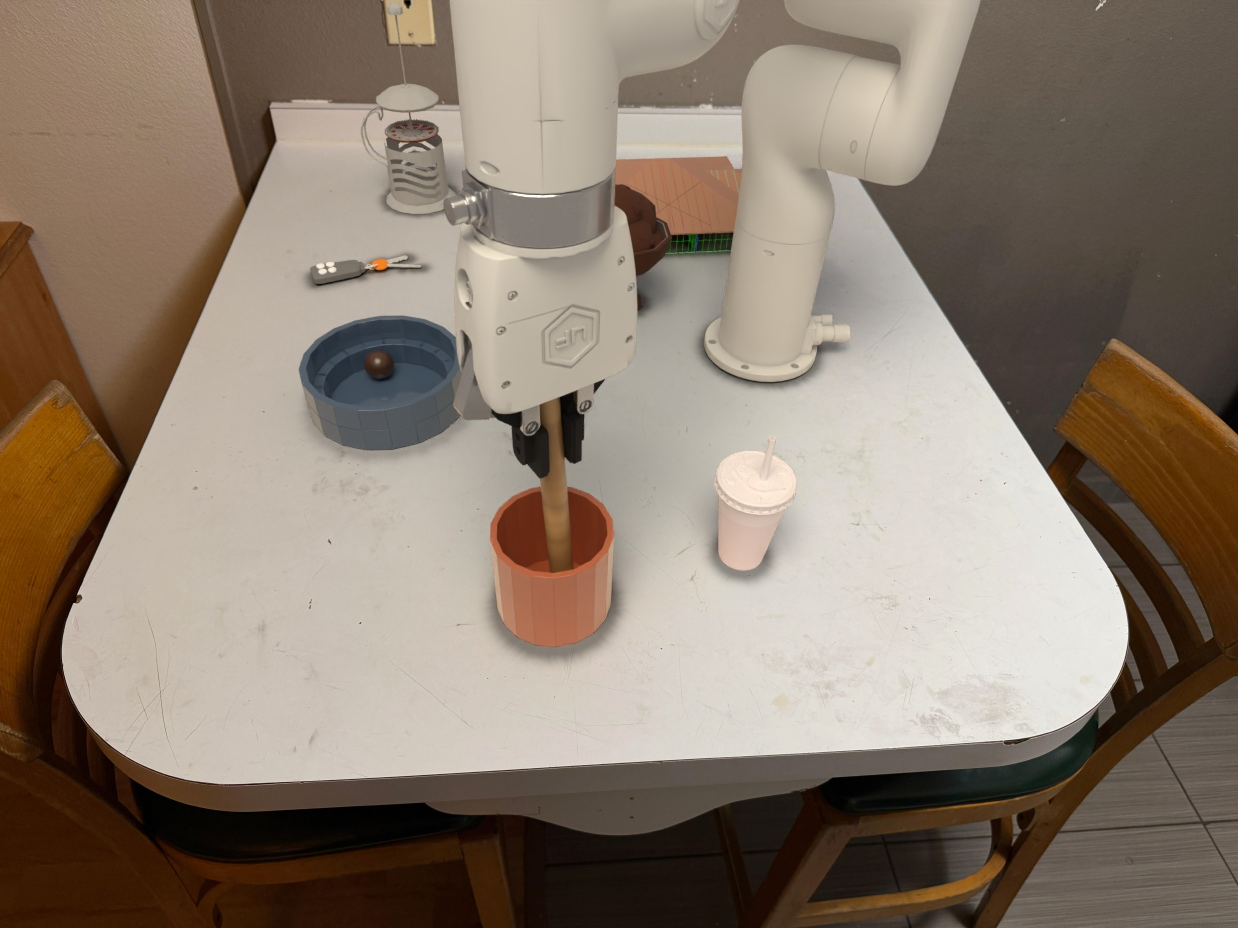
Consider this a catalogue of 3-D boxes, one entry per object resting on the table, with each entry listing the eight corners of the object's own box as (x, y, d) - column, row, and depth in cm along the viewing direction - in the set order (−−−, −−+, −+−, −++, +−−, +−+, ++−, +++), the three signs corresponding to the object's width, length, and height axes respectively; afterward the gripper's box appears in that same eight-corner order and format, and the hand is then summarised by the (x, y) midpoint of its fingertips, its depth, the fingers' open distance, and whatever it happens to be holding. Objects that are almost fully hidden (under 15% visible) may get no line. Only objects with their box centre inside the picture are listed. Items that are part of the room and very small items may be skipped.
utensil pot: (605, 557, 69) (608, 482, 63) (614, 648, 63) (618, 575, 57) (499, 561, 69) (492, 486, 62) (496, 654, 62) (488, 581, 56)
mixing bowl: (470, 356, 89) (466, 314, 86) (463, 452, 78) (457, 408, 74) (326, 359, 88) (315, 316, 84) (298, 457, 77) (283, 412, 73)
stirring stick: (572, 576, 63) (556, 379, 52) (577, 593, 62) (561, 394, 50) (549, 581, 63) (528, 383, 51) (553, 597, 61) (532, 398, 50)
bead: (376, 380, 82) (373, 387, 85) (402, 366, 84) (397, 374, 86) (359, 355, 82) (356, 363, 85) (385, 341, 83) (381, 350, 86)
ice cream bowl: (658, 334, 94) (668, 212, 83) (564, 320, 95) (562, 199, 85) (672, 286, 101) (683, 169, 91) (585, 274, 103) (585, 157, 92)
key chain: (315, 288, 98) (312, 278, 97) (310, 273, 100) (307, 263, 99) (422, 269, 102) (420, 258, 101) (414, 255, 105) (413, 244, 104)
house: (786, 251, 109) (797, 193, 103) (538, 263, 104) (536, 203, 99) (741, 177, 125) (749, 123, 119) (526, 184, 120) (523, 128, 115)
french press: (450, 215, 113) (427, 16, 95) (365, 212, 112) (327, 12, 95) (461, 184, 120) (441, -7, 102) (381, 181, 119) (348, -11, 102)
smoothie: (757, 598, 67) (788, 477, 57) (689, 564, 69) (707, 443, 60) (788, 548, 71) (822, 427, 61) (723, 518, 73) (745, 397, 64)
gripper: (432, 270, 36) (468, 542, 49) (706, 191, 43) (676, 447, 56) (366, 204, 41) (416, 469, 53) (625, 141, 48) (614, 389, 60)
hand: (549, 456), depth 54 cm, fingers closed on stirring stick, 1 cm apart
